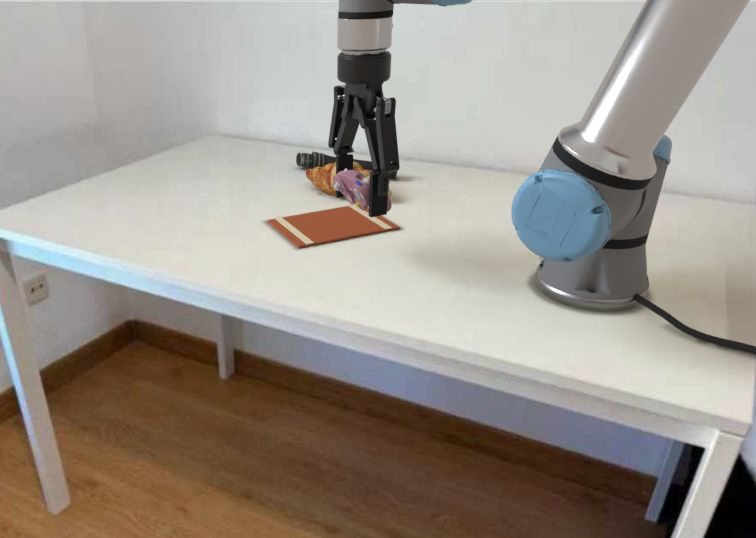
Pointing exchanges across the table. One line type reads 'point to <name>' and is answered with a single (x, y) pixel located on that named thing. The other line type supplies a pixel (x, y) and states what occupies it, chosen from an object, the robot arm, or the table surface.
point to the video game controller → (355, 188)
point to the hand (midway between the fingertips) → (360, 205)
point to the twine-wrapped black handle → (323, 160)
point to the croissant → (331, 177)
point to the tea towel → (330, 225)
